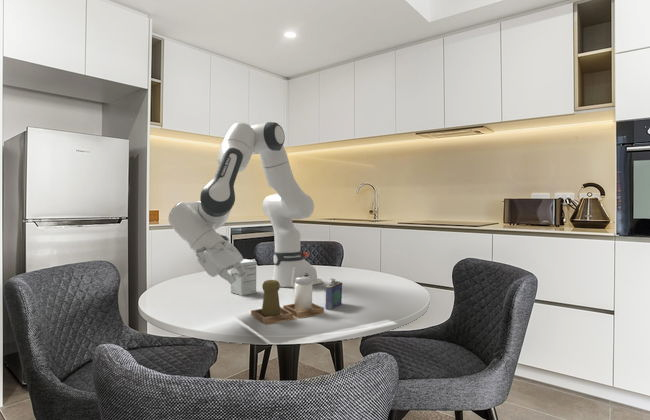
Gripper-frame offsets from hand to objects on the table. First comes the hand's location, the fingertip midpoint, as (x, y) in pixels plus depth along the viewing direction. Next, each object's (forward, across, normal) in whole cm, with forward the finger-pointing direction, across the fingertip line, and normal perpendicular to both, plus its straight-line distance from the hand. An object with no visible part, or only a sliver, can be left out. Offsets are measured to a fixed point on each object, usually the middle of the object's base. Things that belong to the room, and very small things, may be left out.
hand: (239, 278), depth 122 cm
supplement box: (+1, +33, +17) cm, 37 cm away
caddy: (+19, +4, -1) cm, 19 cm away
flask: (+28, +15, -10) cm, 33 cm away
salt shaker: (+21, +7, -5) cm, 23 cm away
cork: (+15, 0, +1) cm, 15 cm away
